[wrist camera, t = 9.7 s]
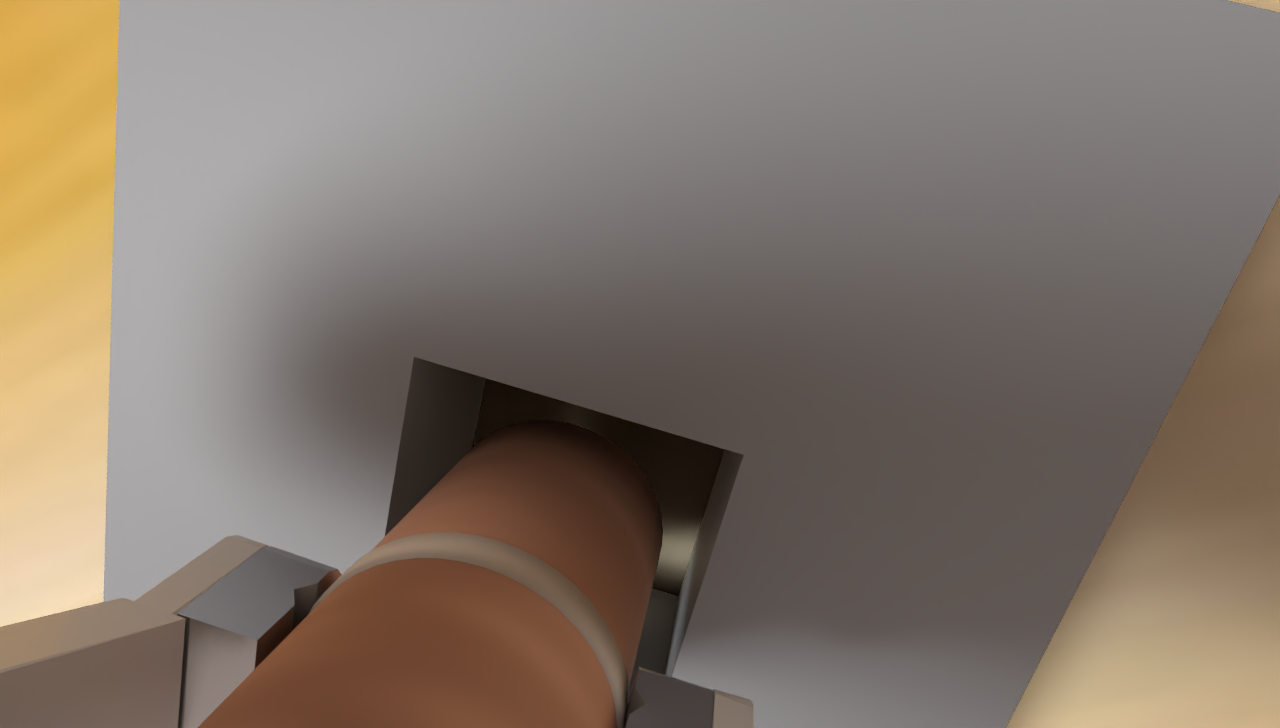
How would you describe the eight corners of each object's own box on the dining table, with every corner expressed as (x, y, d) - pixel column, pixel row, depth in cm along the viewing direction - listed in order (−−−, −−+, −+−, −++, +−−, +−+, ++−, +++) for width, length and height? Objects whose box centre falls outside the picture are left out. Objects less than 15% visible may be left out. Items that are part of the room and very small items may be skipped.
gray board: (1172, 73, 12) (1362, 32, 8) (804, 897, 18) (817, 1093, 14) (305, -139, 13) (126, -258, 10) (227, 699, 19) (97, 830, 16)
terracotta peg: (692, 456, 12) (595, 948, 5) (634, 650, 13) (479, 1297, 6) (465, 389, 12) (13, 745, 5) (428, 585, 14) (21, 1116, 6)
